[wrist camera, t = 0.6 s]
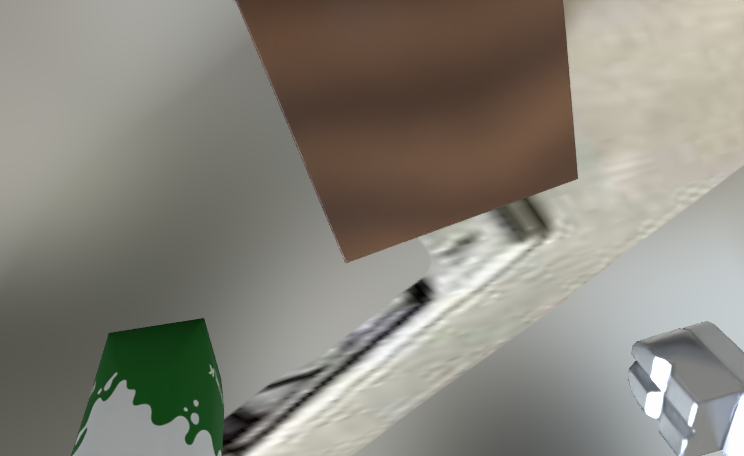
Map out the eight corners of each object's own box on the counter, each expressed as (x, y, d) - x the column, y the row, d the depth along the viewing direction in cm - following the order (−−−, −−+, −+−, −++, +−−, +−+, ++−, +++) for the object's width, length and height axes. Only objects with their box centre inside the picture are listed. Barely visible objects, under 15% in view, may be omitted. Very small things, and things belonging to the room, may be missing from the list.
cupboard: (224, -68, 28) (213, -51, 20) (462, -154, 28) (549, -174, 20) (324, 181, 37) (345, 263, 29) (505, 115, 37) (578, 179, 29)
